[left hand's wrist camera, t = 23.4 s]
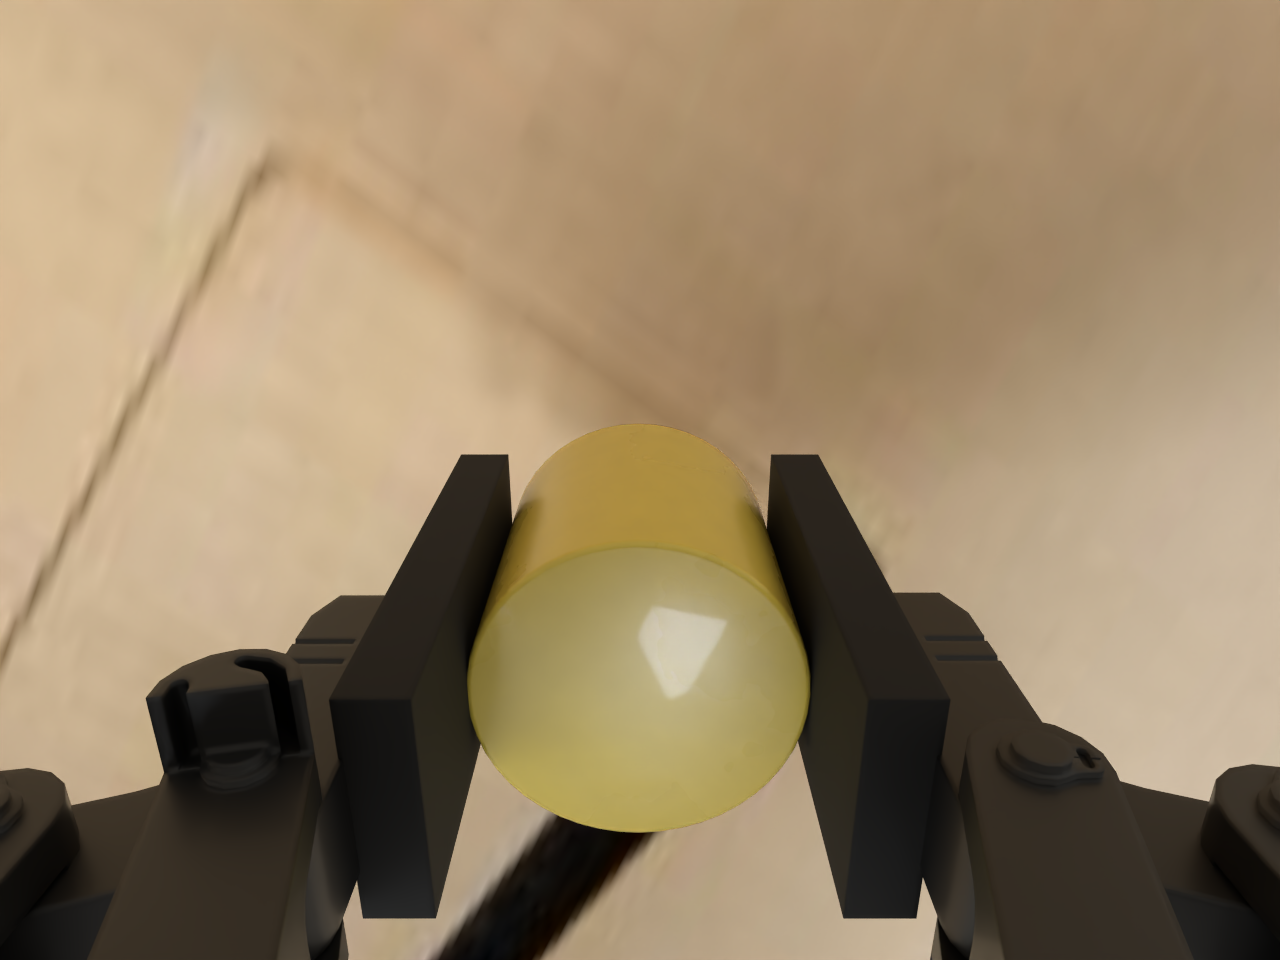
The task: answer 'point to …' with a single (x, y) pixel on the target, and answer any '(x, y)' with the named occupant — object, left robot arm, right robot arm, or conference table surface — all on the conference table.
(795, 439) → the conference table surface
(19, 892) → the left robot arm
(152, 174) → the conference table surface
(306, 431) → the conference table surface
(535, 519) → the yellow cylinder
